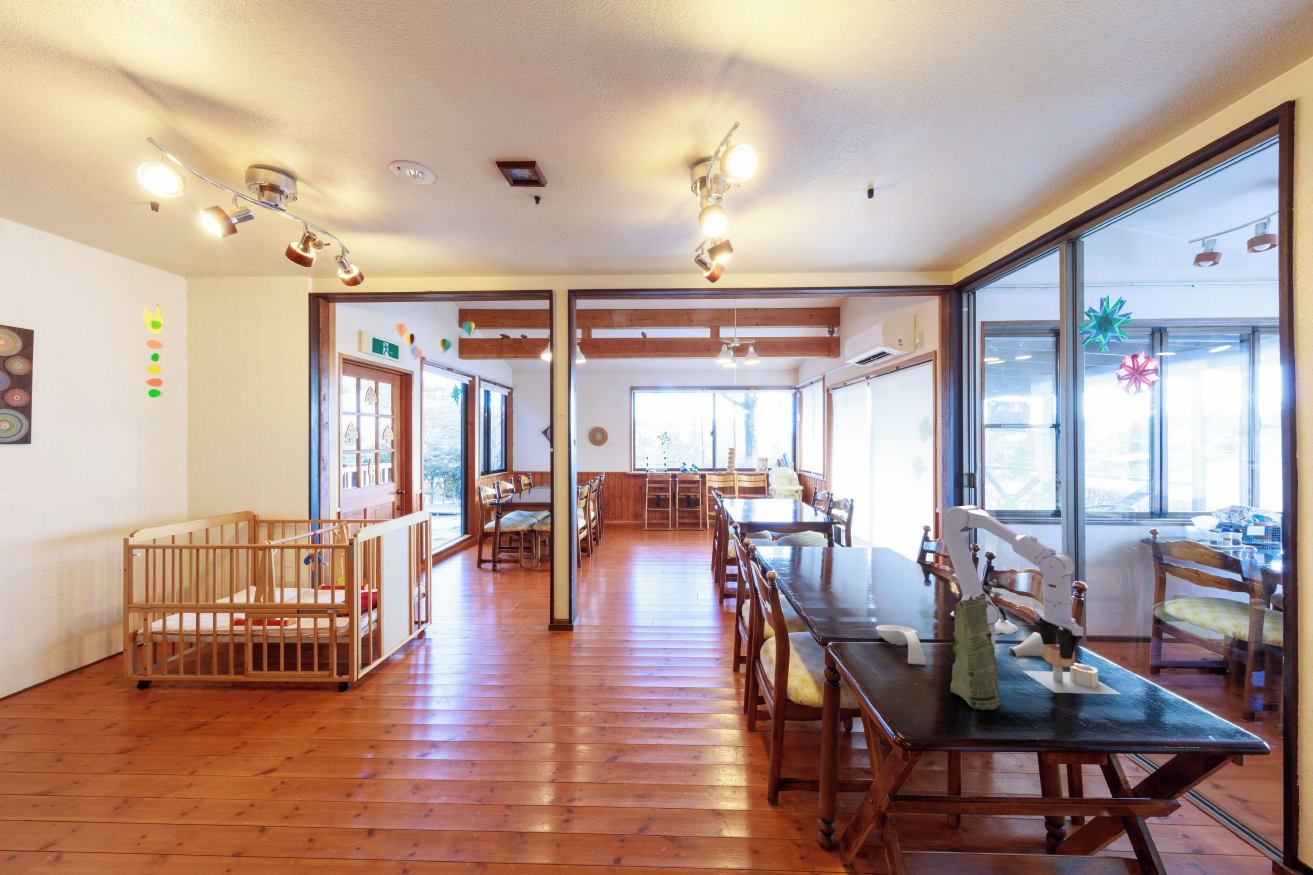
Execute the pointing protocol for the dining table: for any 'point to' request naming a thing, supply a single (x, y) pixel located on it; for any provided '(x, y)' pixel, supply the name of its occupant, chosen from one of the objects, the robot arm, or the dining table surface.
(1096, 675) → the gear
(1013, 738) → the dining table surface
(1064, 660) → the gear
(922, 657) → the spoon rest
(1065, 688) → the gear board
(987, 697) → the pouch
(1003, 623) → the figurine
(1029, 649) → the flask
